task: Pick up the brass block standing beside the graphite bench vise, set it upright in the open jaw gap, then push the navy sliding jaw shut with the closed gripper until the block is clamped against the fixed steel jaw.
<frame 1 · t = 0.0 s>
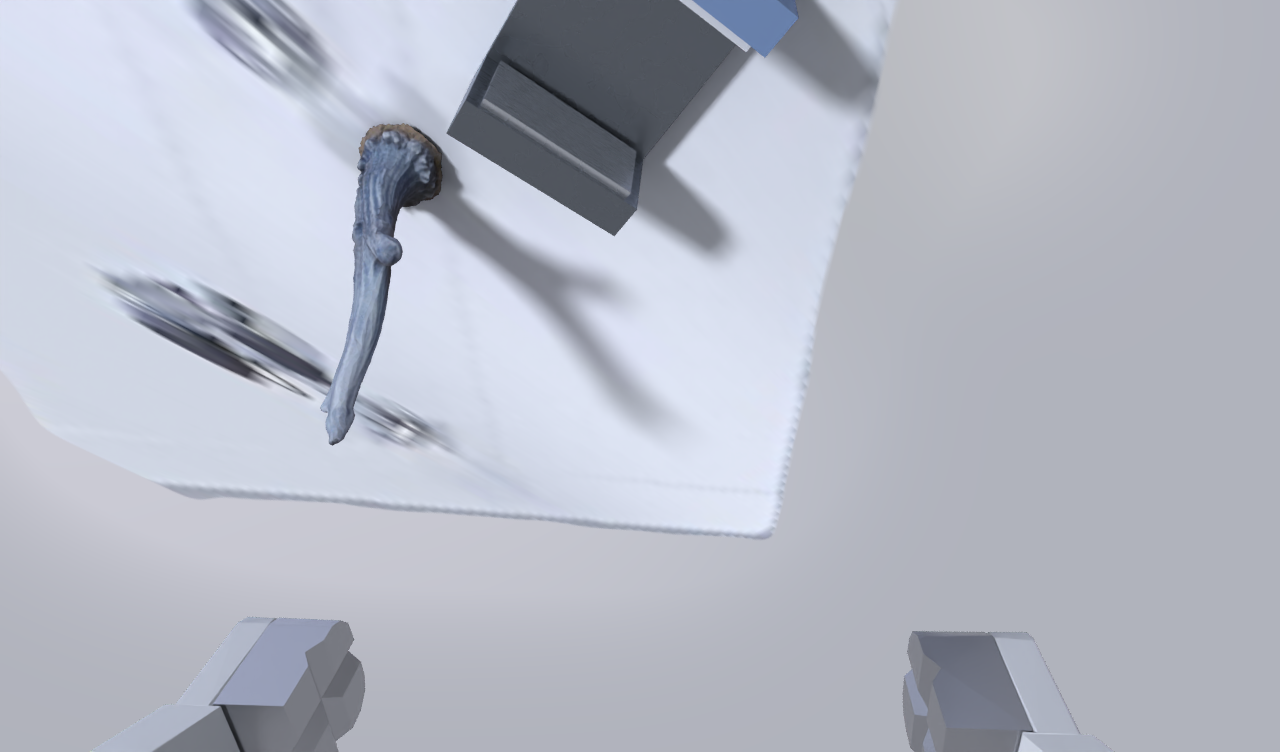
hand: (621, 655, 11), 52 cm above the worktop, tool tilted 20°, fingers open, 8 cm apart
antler: (414, 181, 67), on the worktop
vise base: (632, 9, 55), on the worktop
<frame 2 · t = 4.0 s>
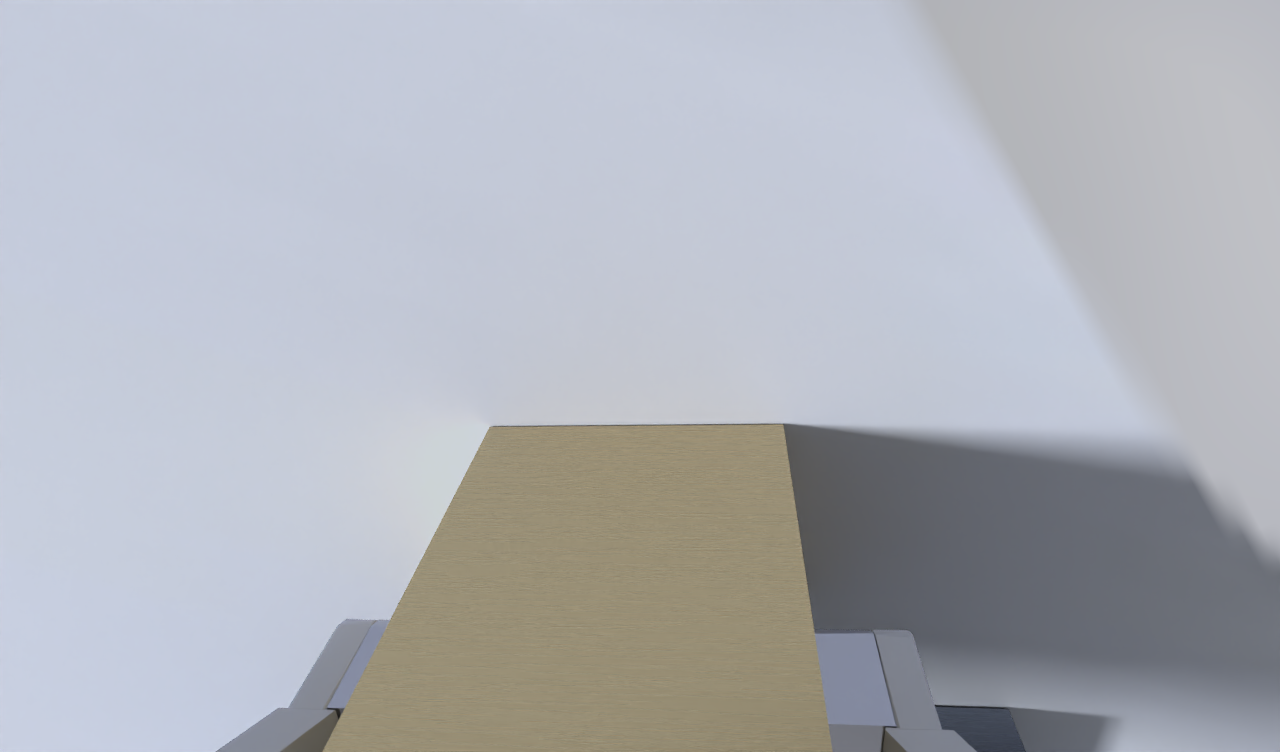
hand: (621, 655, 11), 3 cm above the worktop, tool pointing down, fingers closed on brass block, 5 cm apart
brass block: (640, 521, 14), on the worktop, touching gripper
when the fingers open (6 cm above the worktop, at t = 10.5 s): brass block stays where it is, resting on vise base.
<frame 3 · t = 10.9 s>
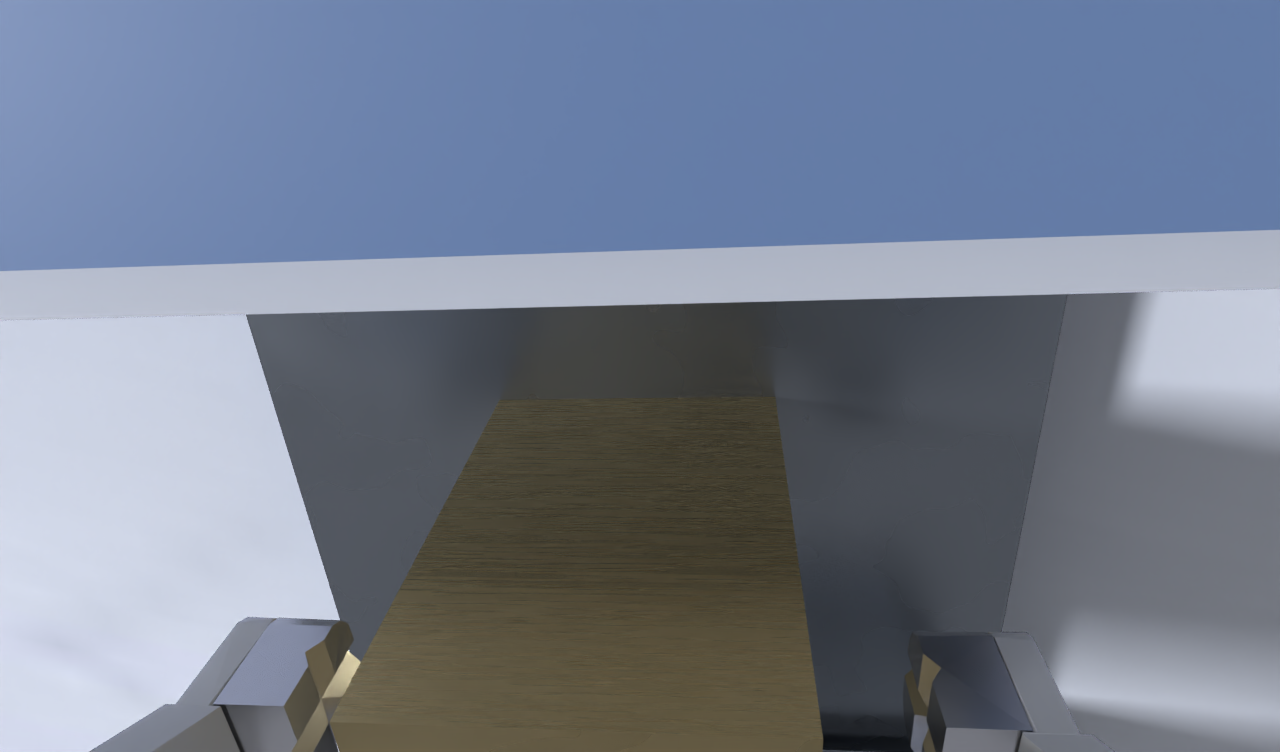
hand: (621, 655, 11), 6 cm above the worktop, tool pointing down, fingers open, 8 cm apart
sliding jaw: (571, 42, 8), point 5 cm above the worktop, slide at 0.0 cm
brass block: (641, 490, 15), point 1 cm above the worktop, touching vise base
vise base: (648, 388, 16), on the worktop
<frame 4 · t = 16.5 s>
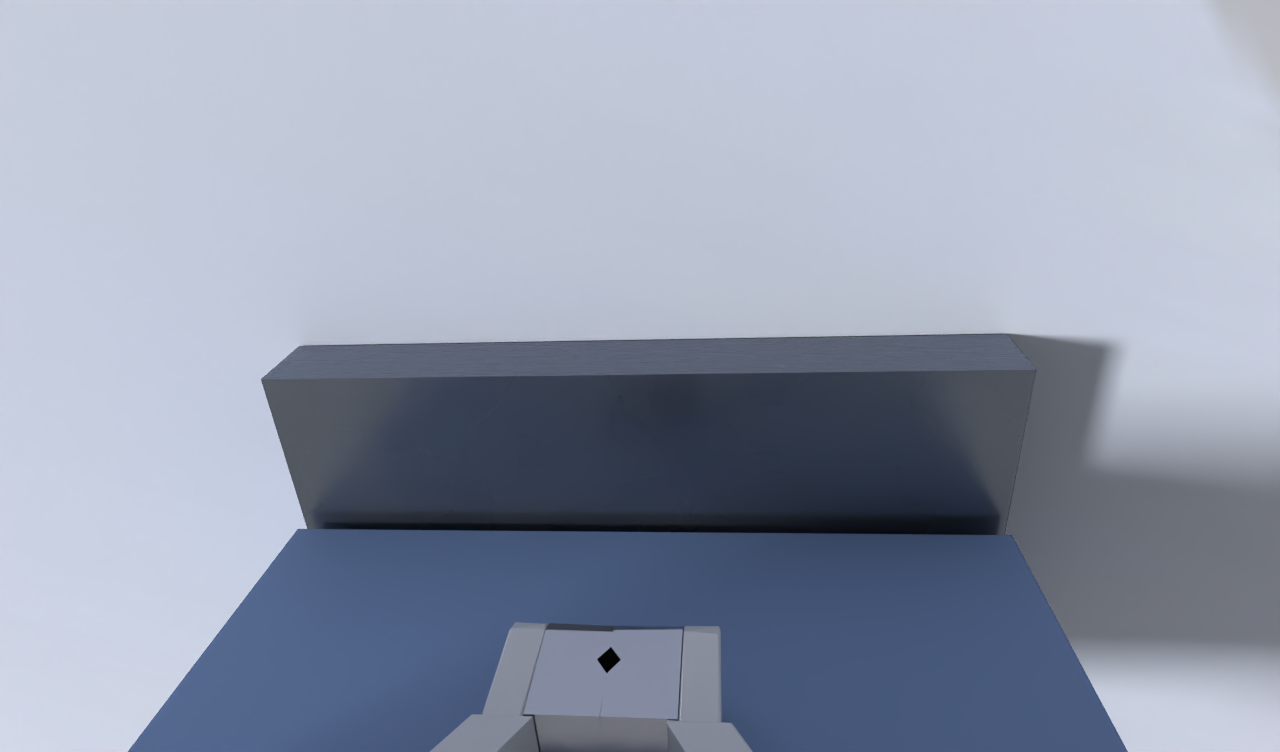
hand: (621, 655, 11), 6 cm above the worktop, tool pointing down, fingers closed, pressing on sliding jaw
sliding jaw: (626, 744, 13), point 5 cm above the worktop, slide at 0.3 cm, touching gripper
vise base: (662, 738, 20), on the worktop
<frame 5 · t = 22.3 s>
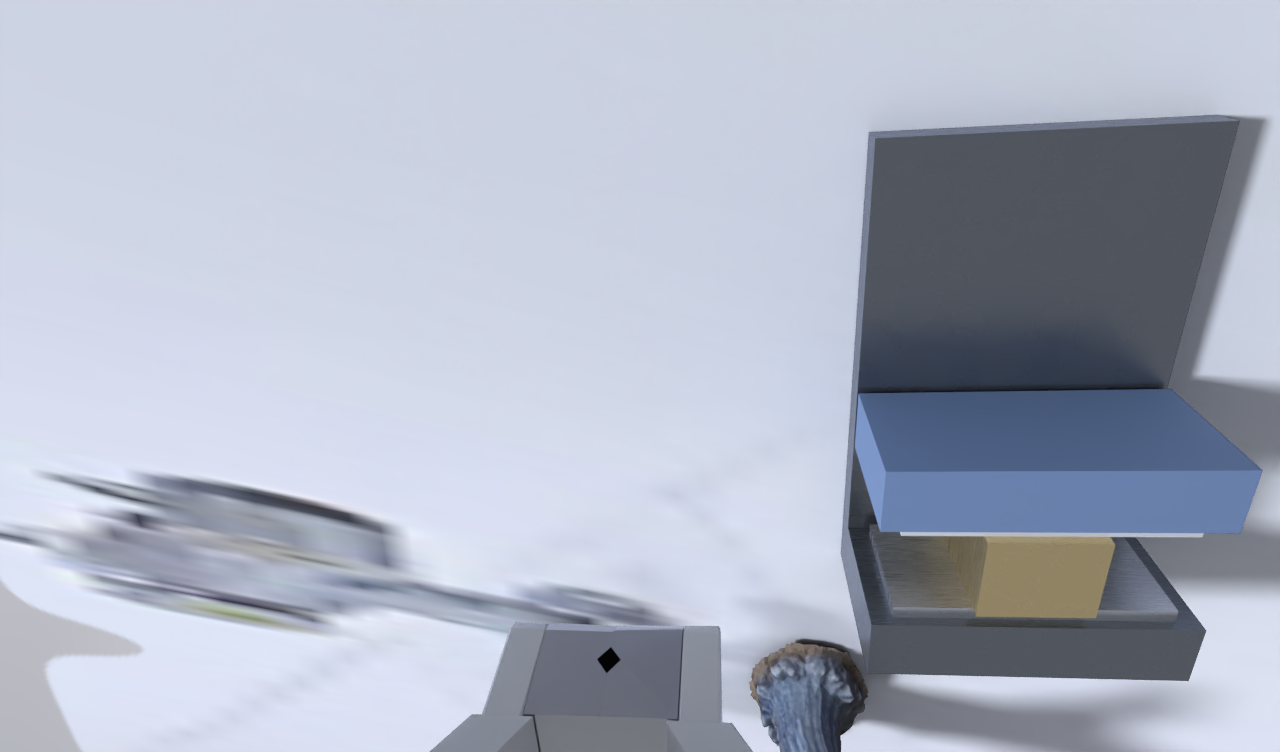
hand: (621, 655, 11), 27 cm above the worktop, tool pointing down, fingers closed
sliding jaw: (1031, 462, 34), point 5 cm above the worktop, slide at 8.8 cm
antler: (830, 695, 49), on the worktop
brass block: (990, 486, 39), point 1 cm above the worktop, touching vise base
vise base: (999, 368, 38), on the worktop
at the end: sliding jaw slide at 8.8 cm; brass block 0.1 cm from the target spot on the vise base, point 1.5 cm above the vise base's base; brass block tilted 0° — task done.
